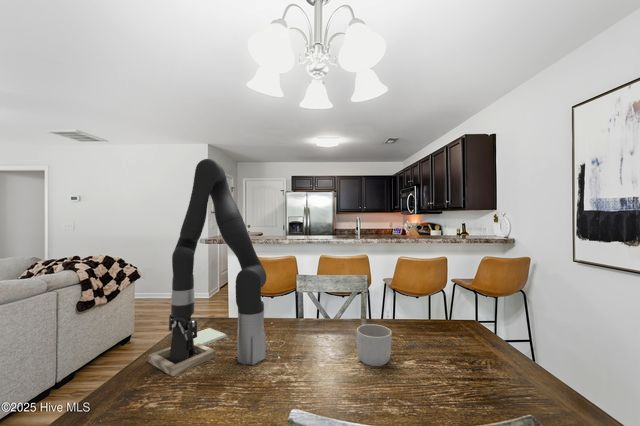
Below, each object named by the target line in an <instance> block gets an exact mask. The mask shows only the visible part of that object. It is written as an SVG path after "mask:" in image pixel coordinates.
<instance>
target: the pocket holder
mask: <svg viewBox="0 0 640 426" xmlns="http://www.w3.org/2000/svg"><path fill="white" fill-rule="evenodd" d="M194 349H195V355H194V356H193V357H191V358H189V359H187V360H184V361H182V362H179V363H177V364H174V363H172V362H170V361H169V359H167V358H169V357H170V350H171V346H169V347H166V348H163V349H161V350H157V351H154V352H151V353H150V354H148V355H147V362H148V363H149V364H151V365H152V366H154V367H155V368H157V369H159V370H161V371H162V372H164V373H166V374H167V375H169V376H170V377H174V376H177V375H179V374H181V373H183V372H186V371H187V370H190V369H193V368H195V367H196V366H199V365H202V364H203V363H206V362H208V361H209V360H212V359H215V358H216V350H215V349H213V348H211V347H208V346H206V345H202V344H200V343H197V342H195V341H194Z"/></svg>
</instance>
